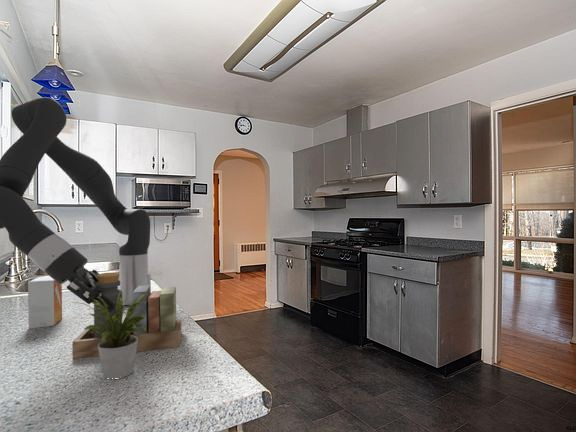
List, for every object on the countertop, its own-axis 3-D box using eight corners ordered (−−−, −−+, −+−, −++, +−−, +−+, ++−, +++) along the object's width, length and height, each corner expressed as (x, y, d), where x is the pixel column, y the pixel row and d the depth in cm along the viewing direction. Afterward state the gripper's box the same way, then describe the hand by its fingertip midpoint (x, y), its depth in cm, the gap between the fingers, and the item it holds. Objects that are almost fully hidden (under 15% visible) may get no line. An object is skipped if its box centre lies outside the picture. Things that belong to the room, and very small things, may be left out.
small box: (54, 326, 95) (54, 280, 95) (27, 328, 93) (27, 281, 93) (63, 317, 103) (62, 275, 103) (38, 320, 101) (37, 277, 101)
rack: (72, 358, 73) (71, 297, 73) (87, 341, 83) (86, 288, 83) (179, 346, 79) (178, 290, 79) (181, 332, 88) (180, 282, 88)
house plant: (59, 403, 56) (57, 304, 56) (74, 368, 68) (73, 288, 68) (152, 384, 61) (151, 294, 61) (150, 355, 74) (149, 281, 74)
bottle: (93, 344, 76) (93, 277, 75) (94, 335, 81) (94, 272, 81) (122, 339, 78) (122, 275, 78) (121, 331, 84) (121, 271, 83)
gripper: (58, 249, 71) (121, 302, 74) (82, 244, 85) (133, 288, 88) (29, 276, 69) (94, 328, 72) (58, 266, 83) (111, 310, 86)
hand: (115, 306), depth 80 cm, fingers closed on bottle, 6 cm apart
